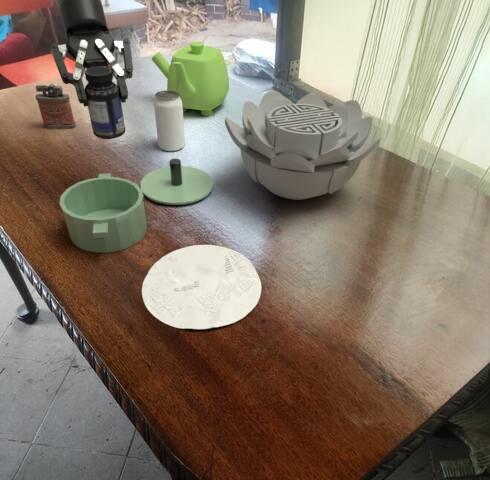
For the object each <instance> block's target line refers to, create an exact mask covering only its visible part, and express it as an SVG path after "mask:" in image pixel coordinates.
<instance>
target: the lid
mask: <svg viewBox="0 0 490 480" xmlns="http://www.w3.org/2000/svg"><path fill="white" fill-rule="evenodd" d="M168 164H169V166H162V167H160V168H157V169H156V168H155V169H154V170H151V171H149V172H148V173H147V174H145V175H144V176H143V177H142V179H141V180H140V184H139V187H140V189H141V190H142V191H143V196H144V197H146V198H147V199H148V200H151V201H152V202H155V203H158V204H163V205H170V206H171V205H173V206H176V205H178V206H180V205H188V204H192V203H196V202H199V201H200V200H203V199H205V198H207V196H209V195H210V194H211V192H212V191H213V189H214V180H213V179H212V176H210V174H209V173H207V172H206V171H204V170H202V169H199V168H196V167H193V166H188V165H182V161H181V159H179V158H171V159H170V160H169V161H168Z"/></svg>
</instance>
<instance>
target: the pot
mask: <svg viewBox="0 0 490 480" xmlns="http://www.w3.org/2000/svg"><path fill="white" fill-rule="evenodd" d="M144 197H145V196H144V194H143V191H142V190H141V187H140V185H139V184H138V183H135V182H133V181H131V180H129V179H126V178H121V177H116V176H115V177H114V176H112V173H111V172H109V173H108V172H107V173H98V177H91V178H88V179H85V180H81V181H79V182H76V183H74V184H73V185H71V186H69V187H67V189H65V190H64V191H63V193H62V194H61V195H60V198H59V203H58V204H59V207H60V211H61V214H62V217H63V221H64V225H65V227H66V231H67V234H68V236H69V239H70V241H71V242H72V243H73V244H74V246H76V247H78V248H79V249H81V250H83V251H85V252H90V253H98V254H100V253H101V254H105V253H115V252H121V251H123V250H126V249H129V248H131V247H133V246H135V245H136V244H138V243H139V242H141V241H142V240H143V238H144V237H145V236H146V234H147V231H148V219H147V212H146V205H145V199H144Z"/></svg>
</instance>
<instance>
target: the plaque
mask: <svg viewBox="0 0 490 480" xmlns="http://www.w3.org/2000/svg"><path fill="white" fill-rule="evenodd" d="M261 294H262V281H261V278H260V276H259V274H258V271H257V270H256V268H255V265H254V264H253V263H252V261H250V259H248V258H247V257H246V256H245V255H244V254H242V253H240V252H238V251H236V250H234V249H232V248H228V247H224V246H221V245H214V244H196V245H195V244H194V245H190V246H185V247H181V248H178V249H175V250H173V251H172V252H171V251H170V252H169V253H167V254H165V255H164V256H162V257H161V258H159V260H157V261H156V262H155V263H154V264H153V265H152V266H151V267H150V269H149V270H148V272H147V275H145V277H144V280H143V282H142V285H141V297H142V300H143V303H144V306H145V307H146V309H147V311H149V313H150V314H151V315H152V316H153V317H154V318H156V319H157V320H159V322H162V323H163V324H166V325H168V326H171V327H173V328H177V329H182V330H185V329H189V330H190V329H192V330H207V329H213V328H219V327H224V326H228V325H231V324H235V323H236V322H238V321H240V320H242V319H244V318H245V317H247V315H248V314H250V313H251V312H252V311H253V309H254V308H256V306H257V305H258V303H259V301H260V298H261Z"/></svg>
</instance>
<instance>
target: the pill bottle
mask: <svg viewBox="0 0 490 480" xmlns="http://www.w3.org/2000/svg"><path fill="white" fill-rule="evenodd" d="M84 76H85V80H86V81H87V84H86V85H85V86H84V89H85V93H86V97H87V101H88V106H87V110H88V115H89V119H90V124H91V129H92V134H93V135H94V136H95V137H96V138H99V139H102V140H112V139H117V138H120V137H123V135H124V134H125V133H126V124H125V118H124V112H123V105H122V102H121V98H120V92H119V88H118V86H117V83H116V82H113V79H114V76H113V74H112V70H111V69H110V68H108V67H102V66H98V67H91V68H88V69H87V68H85V72H84Z"/></svg>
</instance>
